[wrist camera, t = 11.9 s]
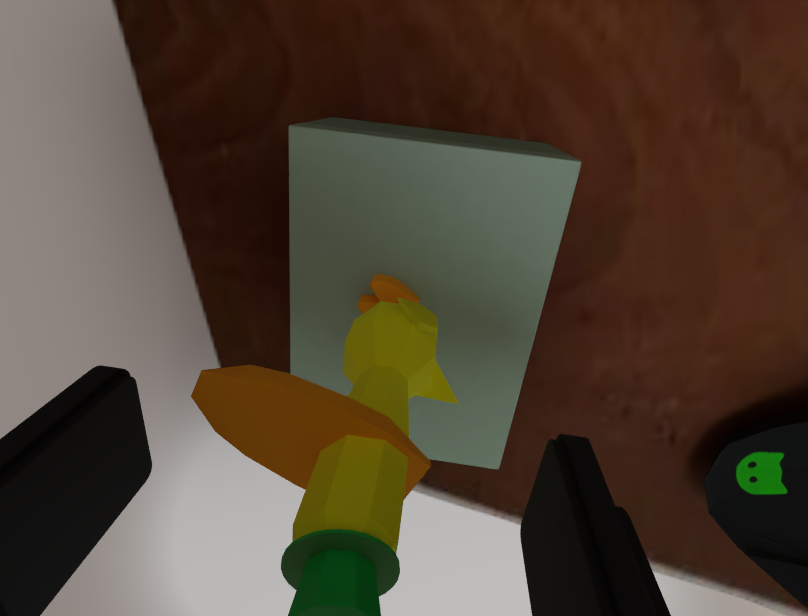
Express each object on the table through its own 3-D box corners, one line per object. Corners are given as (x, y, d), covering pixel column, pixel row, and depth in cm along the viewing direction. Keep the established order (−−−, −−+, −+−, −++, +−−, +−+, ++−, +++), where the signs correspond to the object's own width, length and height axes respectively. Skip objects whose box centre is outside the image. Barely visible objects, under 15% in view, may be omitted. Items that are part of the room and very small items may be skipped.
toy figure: (292, 291, 18) (52, 586, 7) (328, 215, 16) (93, 445, 6) (436, 368, 19) (413, 732, 8) (483, 302, 17) (531, 643, 7)
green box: (323, 369, 27) (290, 438, 21) (331, 116, 21) (288, 125, 15) (489, 393, 26) (499, 470, 21) (548, 143, 20) (582, 161, 15)
